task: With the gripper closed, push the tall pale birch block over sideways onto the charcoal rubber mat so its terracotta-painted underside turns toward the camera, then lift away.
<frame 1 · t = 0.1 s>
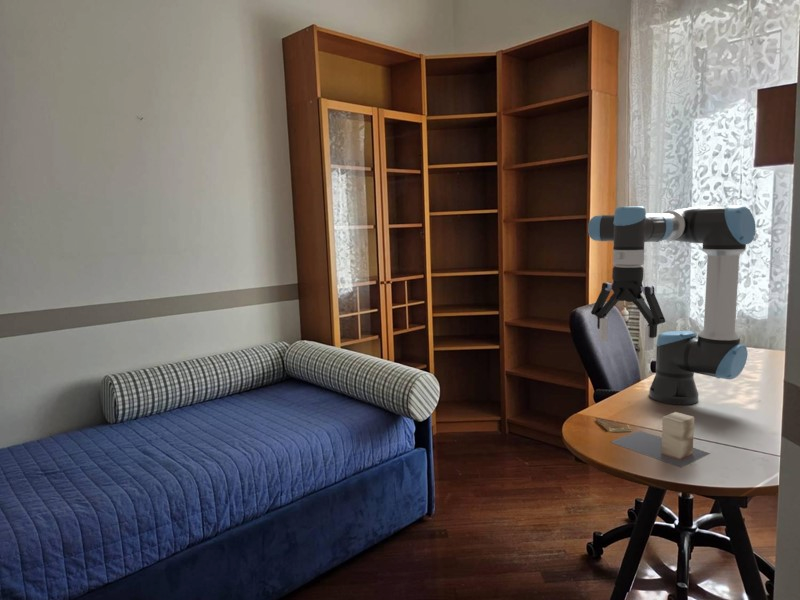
hand: (625, 345, 148), 28 cm above the table, fingers open, 13 cm apart
birch block: (676, 453, 144), resting on rubber mat
shard: (610, 430, 164), on the table
rubber mat: (658, 449, 148), on the table
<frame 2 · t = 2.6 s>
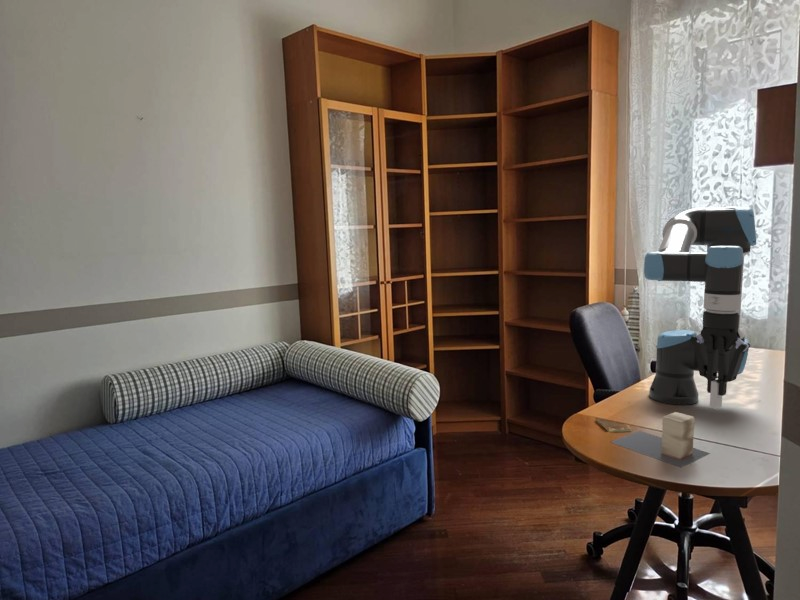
hand: (715, 406, 134), 16 cm above the table, fingers closed
nothing on the table moved.
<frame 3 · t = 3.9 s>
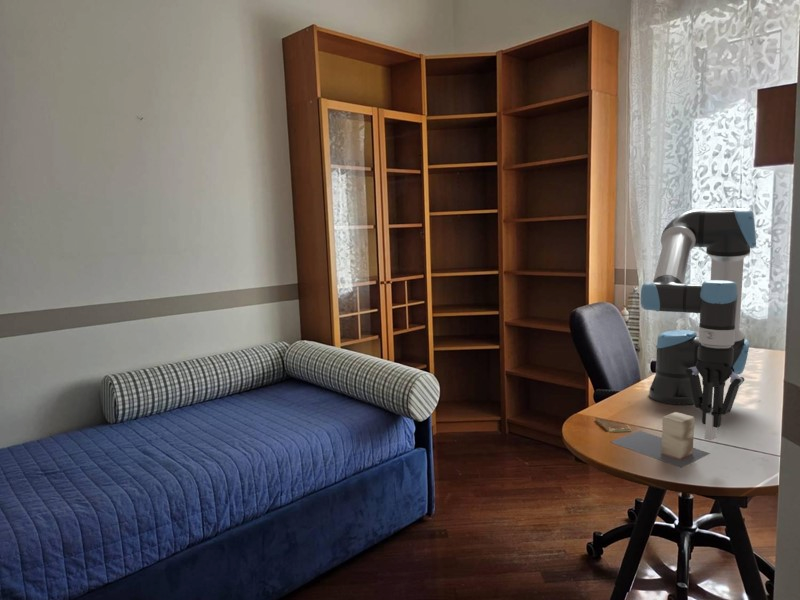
hand: (710, 438, 136), 7 cm above the table, fingers closed
nothing on the table moved.
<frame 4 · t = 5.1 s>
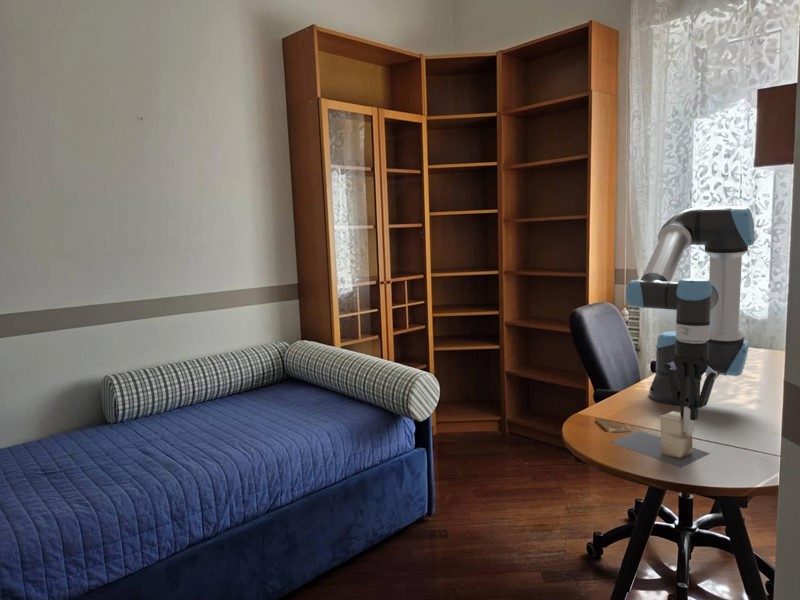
hand: (688, 431, 141), 7 cm above the table, fingers closed
birch block: (676, 453, 144), point 1 cm above the table, touching gripper, rubber mat
everything else where it was.
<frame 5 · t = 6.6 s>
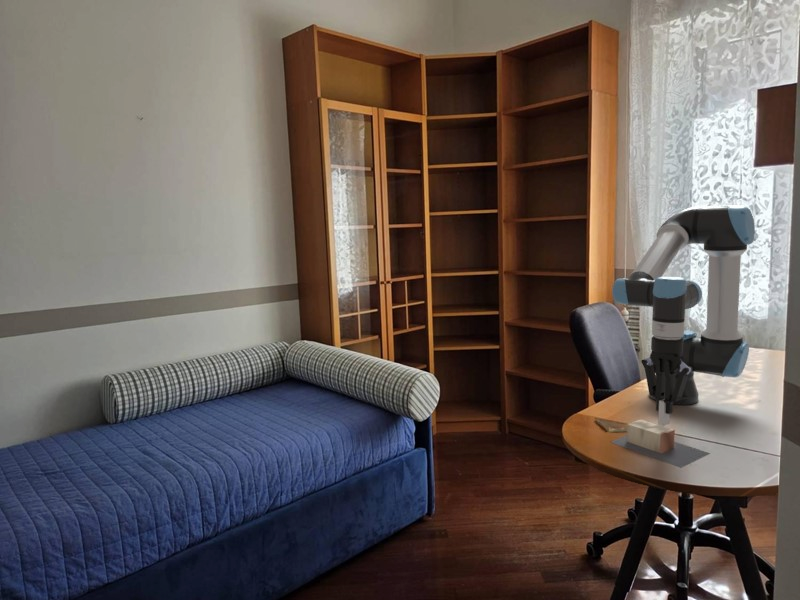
hand: (663, 424, 146), 7 cm above the table, fingers closed
birch block: (668, 441, 146), point 3 cm above the table, tilted 90°, touching rubber mat
everything else where it was.
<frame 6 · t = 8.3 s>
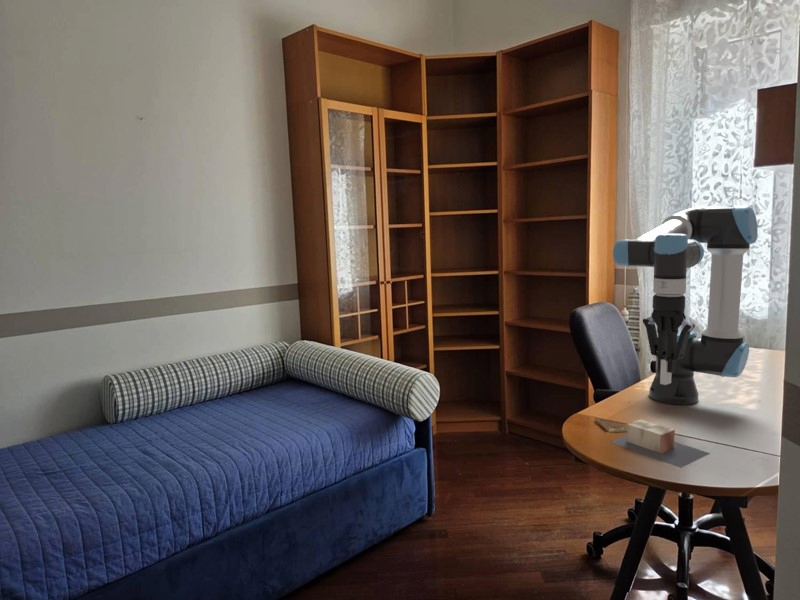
hand: (665, 383, 145), 18 cm above the table, fingers closed
nothing on the table moved.
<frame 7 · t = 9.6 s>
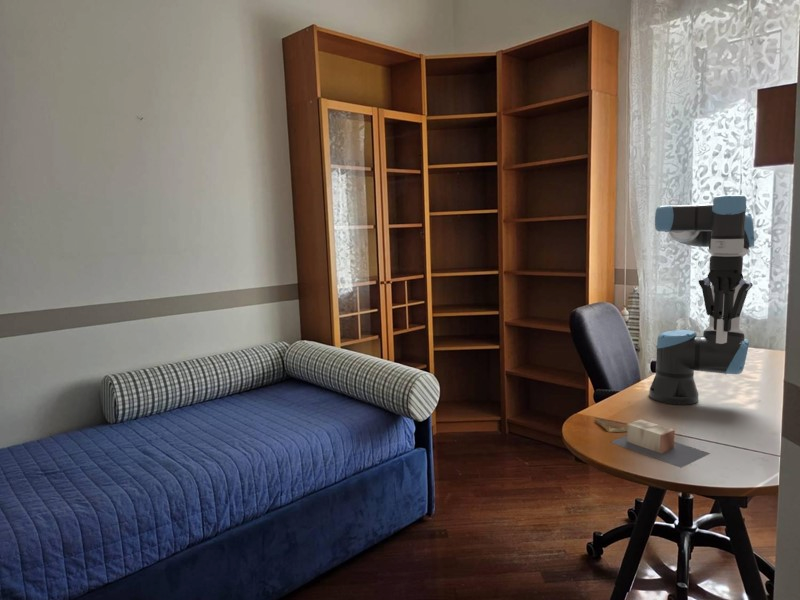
hand: (721, 342, 149), 28 cm above the table, fingers closed
nothing on the table moved.
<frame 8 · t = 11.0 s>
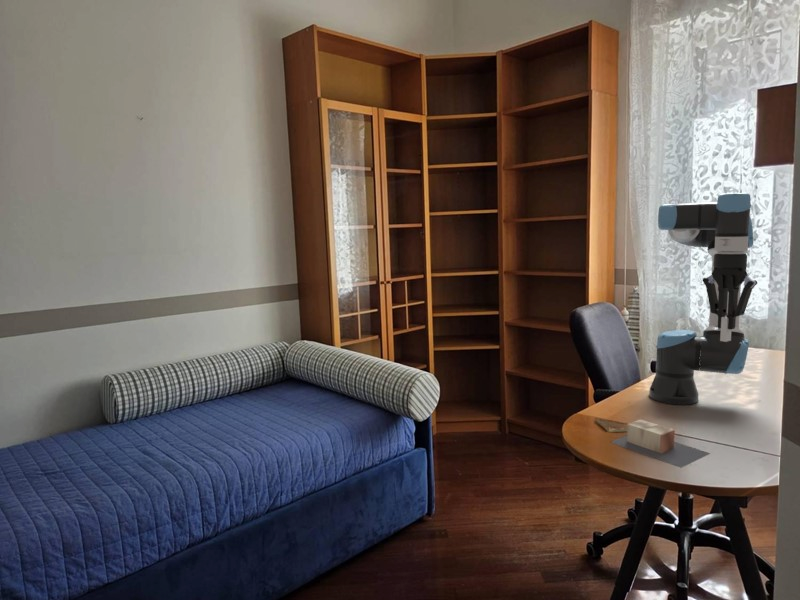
hand: (725, 340, 149), 28 cm above the table, fingers closed
nothing on the table moved.
at the end: birch block tilted 90°; birch block inside the target area (0.8 cm from its centre), point 3.0 cm above the table; birch block touching rubber mat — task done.
